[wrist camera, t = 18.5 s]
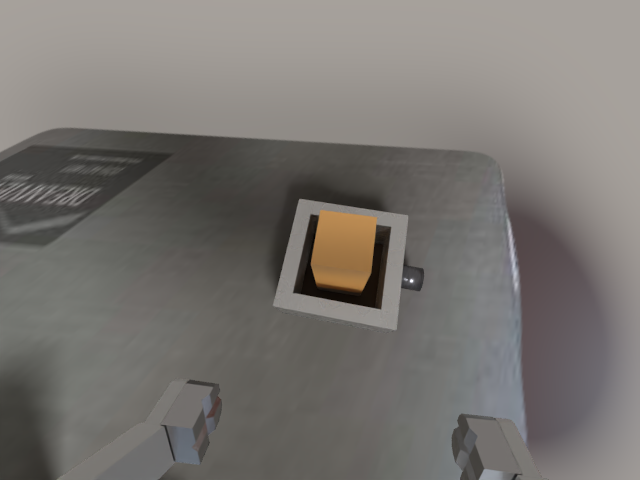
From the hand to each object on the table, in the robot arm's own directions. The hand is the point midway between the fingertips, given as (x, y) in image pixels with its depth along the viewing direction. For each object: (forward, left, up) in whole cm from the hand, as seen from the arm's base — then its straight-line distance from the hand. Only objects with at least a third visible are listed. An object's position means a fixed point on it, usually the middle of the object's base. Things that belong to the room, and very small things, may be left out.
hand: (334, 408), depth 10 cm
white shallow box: (-1, +9, -16) cm, 19 cm away
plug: (-1, +9, -16) cm, 19 cm away
